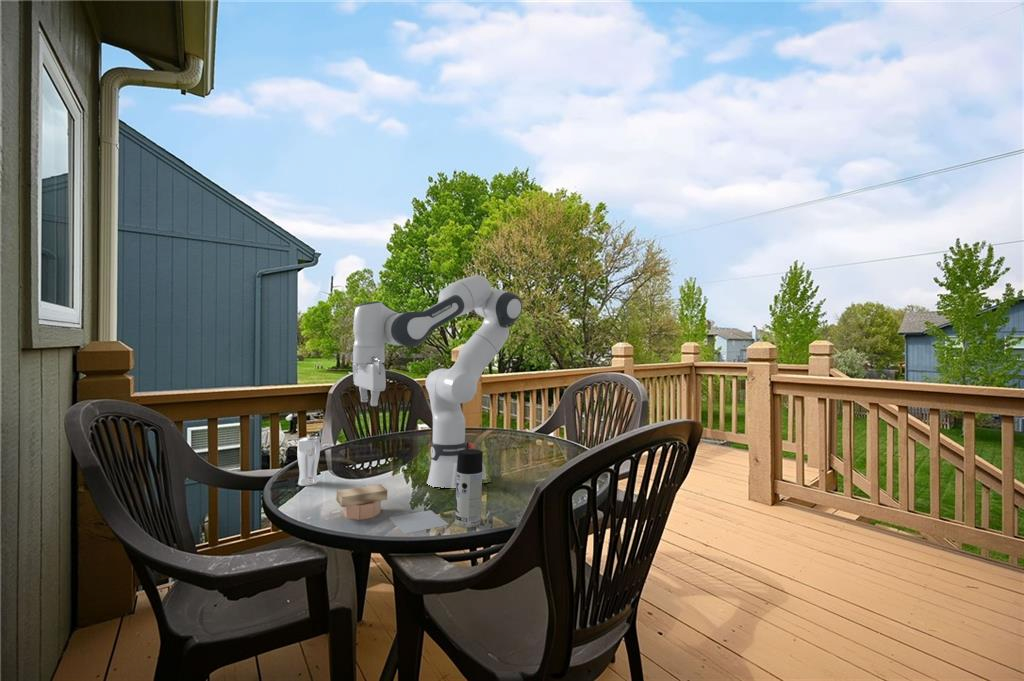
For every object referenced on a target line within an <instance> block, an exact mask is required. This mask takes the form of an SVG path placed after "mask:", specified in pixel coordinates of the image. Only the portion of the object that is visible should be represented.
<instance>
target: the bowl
mask: <svg viewBox="0 0 1024 681" xmlns="http://www.w3.org/2000/svg"><path fill="white" fill-rule="evenodd" d="M381 505H382V502H381V501H376V502H370V503H364V504H358V505H352V506H346V507H343V512H342V513H343V515H344V517H345V518H346V519H347V520H356V521H359V520H360V521H361V520H365V519H366V520H367V519H372V518H374V517H375V518H376V516H378V515H379V514H380V513H381Z"/></svg>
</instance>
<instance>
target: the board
mask: <svg viewBox="0 0 1024 681" xmlns="http://www.w3.org/2000/svg"><path fill="white" fill-rule="evenodd" d="M335 498H336V499H335V500H336V502H337V503H338V504H339V506H340V507H341V508H344V507H346V506H352V505H358V504H364V503H370V502H376V501H387V500H388V489H387V488H385V486H383V485H382V484H375V485H373V484H372V485H368V486H362V487H361V486H360V487H353V488H346V489H339V490H336V497H335Z"/></svg>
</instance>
